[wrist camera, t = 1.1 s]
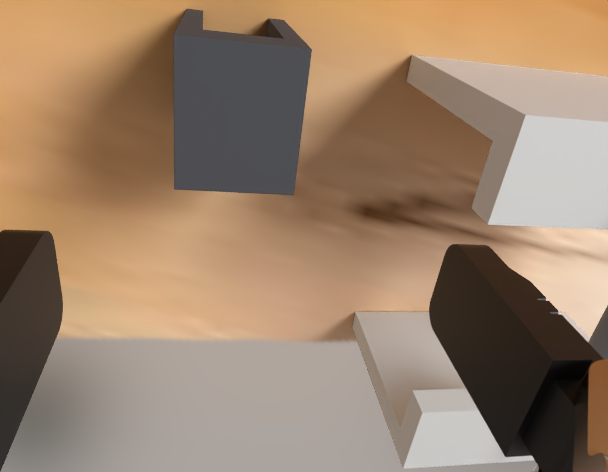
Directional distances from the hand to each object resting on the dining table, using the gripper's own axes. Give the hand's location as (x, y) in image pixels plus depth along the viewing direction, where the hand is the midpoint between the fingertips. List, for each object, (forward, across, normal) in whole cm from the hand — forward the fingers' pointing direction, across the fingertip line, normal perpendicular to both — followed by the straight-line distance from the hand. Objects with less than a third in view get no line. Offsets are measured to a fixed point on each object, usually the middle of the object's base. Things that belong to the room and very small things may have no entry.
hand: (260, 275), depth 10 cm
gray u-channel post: (+20, 0, 0) cm, 20 cm away
